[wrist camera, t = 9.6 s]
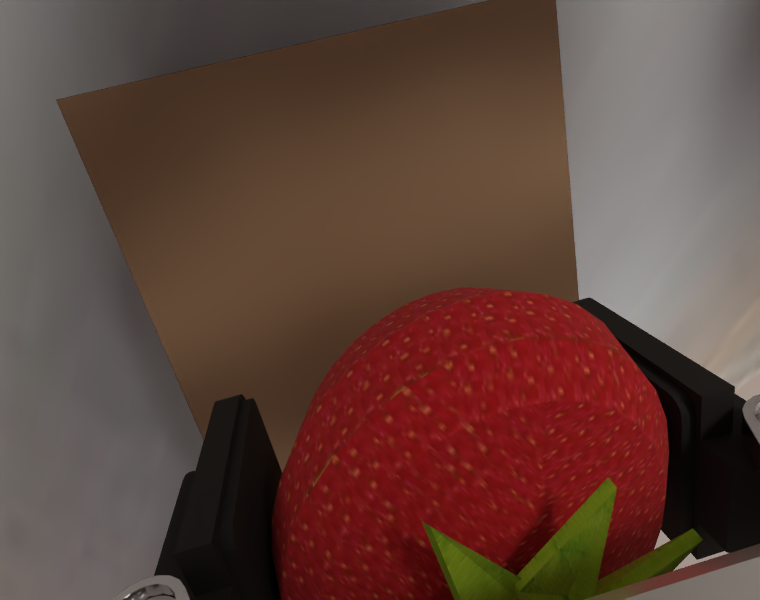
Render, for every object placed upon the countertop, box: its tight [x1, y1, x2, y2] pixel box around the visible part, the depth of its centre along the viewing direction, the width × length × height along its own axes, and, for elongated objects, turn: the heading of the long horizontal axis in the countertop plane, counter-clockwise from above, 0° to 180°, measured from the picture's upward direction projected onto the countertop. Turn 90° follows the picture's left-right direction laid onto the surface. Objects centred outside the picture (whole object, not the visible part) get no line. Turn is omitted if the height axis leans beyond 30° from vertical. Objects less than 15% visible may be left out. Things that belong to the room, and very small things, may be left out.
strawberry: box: [272, 287, 703, 600], centre depth 9 cm, size 6×8×10 cm
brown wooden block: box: [56, 0, 579, 473], centre depth 18 cm, size 17×12×6 cm
